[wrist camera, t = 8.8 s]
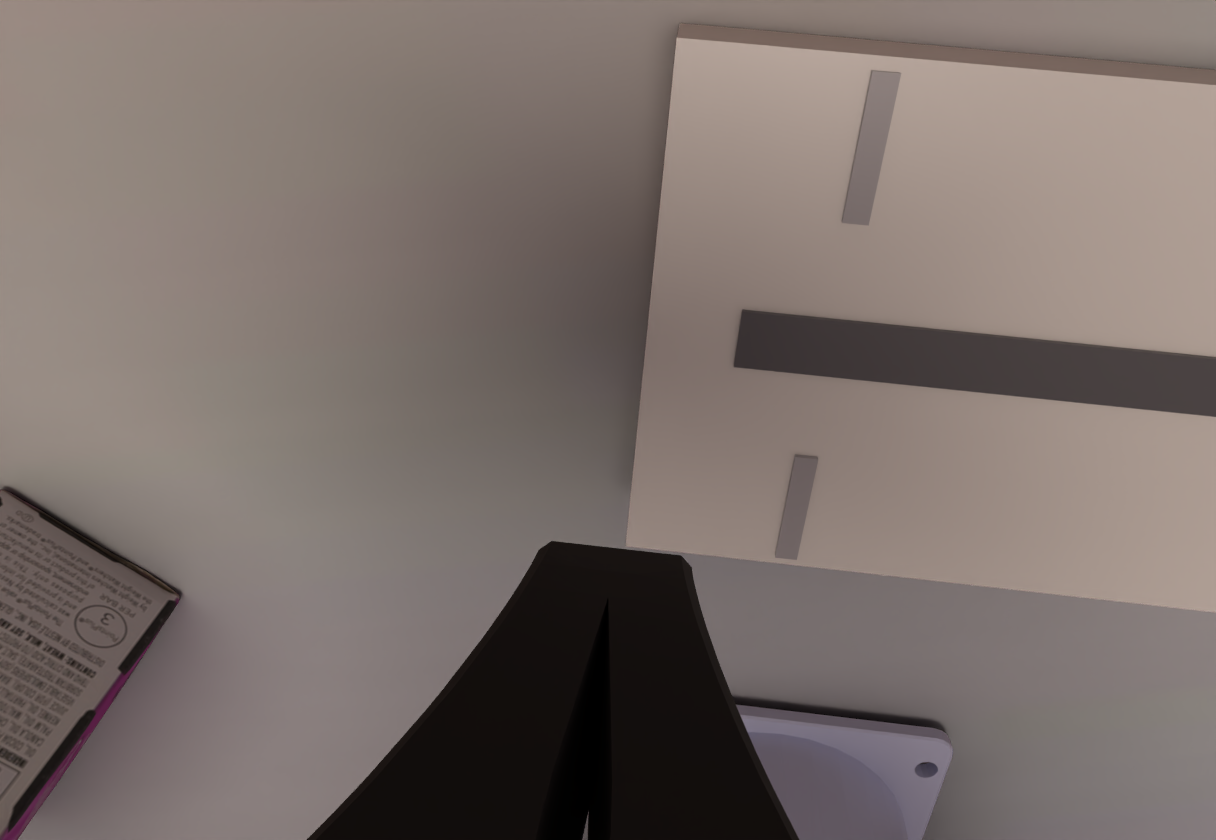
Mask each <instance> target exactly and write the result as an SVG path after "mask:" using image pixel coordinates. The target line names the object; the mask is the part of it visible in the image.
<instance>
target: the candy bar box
mask: <svg viewBox="0 0 1216 840" xmlns="http://www.w3.org/2000/svg"><path fill="white" fill-rule="evenodd" d="M179 600H180V599H179V594H177V593H176V592H175V591H173V590H172V589H171V588H169V587H168V586H167V585H165V584H164V583H163V582H161V581H160V580H158V579H156V578H155V577H153V576H152V575H151V574H149V573H148V572H147V571H145V570H143V569H141V568H140V567H138V566H136V565H135V564H133V563H131V562H129V561H127V560H125V559H123V558H121V557H119V556H117V555H115V554H113V553H111V552H109V551H108V550H106V549H104V548H103V547H101V546H99V545H97V544H95V543H94V542H92V541H90V540H88V539H86V538H84V537H83V536H81V535H79V534H78V533H76V532H74V531H73V530H71V529H70V528H68V527H66V526H65V525H63V524H62V523H60V522H59V521H57V520H55V519H54V518H52V517H51V516H49V515H47V514H46V513H44V512H43V511H41V510H39V509H37V508H36V507H34V506H32V505H30V504H28V503H27V502H25V501H23V500H21V499H20V498H18V497H16V496H15V495H13V494H11V493H10V492H8V491H5V490H0V840H17V839H18V838H19V836H20V835H21V834H22V832H23V831H24V829H25V828H26V826H27V825H28V824H29V822H30V821H31V819H32V818H33V817H34V815H35V814H36V812H37V811H38V809H39V808H40V807H41V805H42V804H43V802H44V801H45V800H46V798H47V797H48V795H49V794H50V793H51V791H52V790H53V788H54V787H55V785H56V784H57V783H58V781H59V780H60V778H61V777H62V775H63V774H64V772H65V771H66V770H67V768H68V767H69V765H70V764H71V762H72V761H73V759H74V758H75V756H76V755H77V754H78V752H79V751H80V749H81V748H82V746H83V745H84V743H85V742H86V740H87V739H88V737H89V736H90V734H91V733H92V732H93V730H94V729H95V727H96V726H97V724H98V723H99V721H100V720H101V718H102V717H103V715H104V714H105V712H106V711H107V709H108V708H109V706H110V705H111V703H112V702H113V700H114V699H115V697H116V696H117V694H118V693H119V691H120V690H121V688H122V687H123V685H124V684H125V682H126V681H127V679H128V678H129V676H130V675H131V673H132V672H133V670H134V669H135V667H136V666H137V664H138V663H139V661H140V660H141V658H142V657H143V655H144V654H145V652H146V651H147V649H148V648H149V646H150V645H151V643H152V642H153V640H154V638H155V637H156V635H157V634H158V632H159V631H160V629H161V628H162V626H163V625H164V623H165V621H166V620H167V619H168V617H169V616H170V614H171V613H172V611H173V610H174V608H175V607H176V605H177V604H178V602H179Z"/></svg>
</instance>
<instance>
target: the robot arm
mask: <svg viewBox="0 0 1216 840" xmlns="http://www.w3.org/2000/svg"><path fill="white" fill-rule="evenodd" d="M952 757H953V748H952V744H951V741H950V739H949V737H948V735H947V734H946V733H945V732H943V731H942V730H939V729H935V728H929V727H920V726H912V725H904V724H895V723H887V722H878V721H870V720H862V719H853V718H845V717H836V716H828V715H819V714H811V713H803V712H794V711H786V710H777V709H769V708H761V707H752V706H744V705H736V704H735V702H734V699H733V697H732V695H731V692H730V690H729V688H728V685H727V683H726V680H725V677H724V675H723V672H722V670H721V667H720V664H719V662H718V659H717V656H716V653H715V650H714V648H713V645H712V642H711V639H710V636H709V633H708V631H707V627H706V624H705V621H704V618H703V615H702V611H701V608H700V604H699V601H698V597H697V593H696V589H695V584H694V580H693V574H692V567H691V566H690V565H689V564H688V563H687V562H686V560H685V559H684V558H683V557H682V556H680V555H671V554H662V553H653V552H644V551H635V550H626V549H617V548H609V547H600V546H591V545H582V544H573V543H564V542H555V541H551V542H550V543H548V544H547V545H545V546H544V547H542V548H541V549H539V551H538V553H537V555H536V556H535V558H534V560H533V562H532V564H531V566H530V568H529V569H528V571H527V573H526V574H525V576H524V578H523V579H522V581H521V583H520V584H519V586H518V587H517V589H516V591H515V592H514V594H513V595H512V597H511V598H510V600H509V601H508V603H507V604H506V606H505V607H504V609H503V610H502V611H501V613H500V614H499V616H498V617H497V618H496V620H495V621H494V623H493V624H492V626H491V627H490V628H489V630H488V631H487V633H486V634H485V636H484V637H483V638H482V640H481V641H480V642H479V643H478V645H477V646H476V647H475V649H474V650H473V651H472V652H471V654H470V655H469V656H468V658H467V659H466V660H465V662H464V663H463V664H462V665H461V667H460V668H459V669H458V671H457V672H456V673H455V675H454V676H453V677H452V678H451V680H450V681H449V682H448V684H447V685H446V686H445V687H444V689H443V690H442V691H441V693H440V694H439V695H438V696H437V697H436V699H435V700H434V701H433V702H432V704H431V705H430V706H429V707H428V708H427V710H426V711H425V712H424V713H423V714H422V715H421V716H420V718H419V719H418V720H417V721H416V722H415V723H414V724H413V726H412V727H411V728H410V729H409V730H408V731H407V732H406V734H405V735H404V736H403V737H402V738H401V739H400V740H399V742H398V743H397V744H396V745H395V746H394V747H393V748H392V750H391V751H390V752H389V753H388V754H387V755H386V756H385V757H384V759H383V760H382V761H381V762H380V763H379V764H378V765H377V767H376V768H375V769H374V770H373V771H372V772H371V773H370V775H369V776H368V777H367V778H366V779H365V780H364V781H363V782H362V783H361V784H360V785H359V786H358V787H357V789H356V790H355V791H354V792H353V793H352V794H351V795H350V796H349V797H348V798H347V799H346V800H345V801H344V802H343V803H342V804H341V805H340V806H339V807H338V809H337V810H336V811H335V812H334V813H333V814H332V815H331V816H330V817H329V818H328V819H327V820H326V821H325V822H324V823H323V824H322V825H321V826H320V827H319V828H318V829H317V830H316V831H315V832H314V833H313V834H312V835H311V836H310V837H309V838H308V839H307V840H582V838H583V833H584V829H585V824H586V819H587V815H588V810H589V816H588V840H922V839H923V836H924V833H925V831H926V828H927V825H928V822H929V820H930V817H931V814H932V811H933V809H934V806H935V803H936V800H937V798H938V795H939V792H940V790H941V787H942V784H943V781H944V779H945V776H946V773H947V770H948V768H949V765H950V762H951V759H952ZM922 762H929V763H927V764H920V763H922Z"/></svg>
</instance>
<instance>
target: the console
mask: <svg viewBox="0 0 1216 840" xmlns="http://www.w3.org/2000/svg"><path fill="white" fill-rule="evenodd" d="M626 546H628V547H636V548H645V549H654V550H663V551H672V552H681V553H690V554H699V555H708V556H717V557H726V558H735V559H743V560H752V561H761V562H770V563H779V564H788V565H797V566H806V567H815V568H824V569H833V570H842V571H850V572H859V573H868V574H877V575H886V576H895V577H904V578H913V579H922V580H931V581H940V582H949V583H958V584H966V585H975V586H984V587H993V588H1002V589H1011V590H1020V591H1029V592H1038V593H1047V594H1056V595H1065V596H1073V597H1082V598H1091V599H1100V600H1109V601H1118V602H1127V603H1136V604H1145V605H1154V606H1163V607H1172V608H1180V609H1189V610H1198V611H1207V612H1216V70H1210V69H1198V68H1187V67H1175V66H1164V65H1153V64H1141V63H1130V62H1118V61H1107V60H1096V59H1084V58H1073V57H1061V56H1050V55H1039V54H1027V53H1016V52H1004V51H993V50H982V49H970V48H959V47H947V46H936V45H925V44H913V43H902V42H890V41H879V40H868V39H856V38H845V37H833V36H822V35H811V34H799V33H788V32H776V31H765V30H754V29H742V28H731V27H719V26H708V25H697V24H685V23H680V24H679V29H678V34H677V40H676V50H675V60H674V70H673V80H672V90H671V100H670V110H669V120H668V130H667V139H666V149H665V159H664V169H663V179H662V189H661V199H660V209H659V219H658V229H657V239H656V249H655V258H654V268H653V278H652V288H651V298H650V308H649V318H648V328H647V338H646V348H645V358H644V368H643V377H642V387H641V397H640V407H639V417H638V427H637V437H636V447H635V457H634V467H633V477H632V487H631V496H630V506H629V516H628V526H627V536H626Z"/></svg>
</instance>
